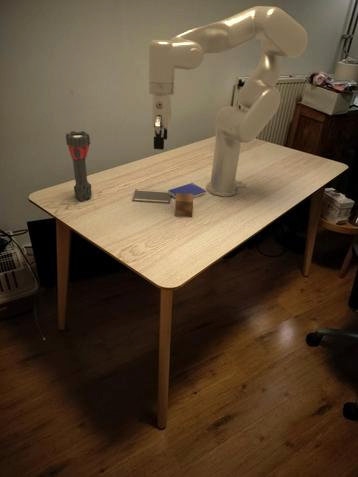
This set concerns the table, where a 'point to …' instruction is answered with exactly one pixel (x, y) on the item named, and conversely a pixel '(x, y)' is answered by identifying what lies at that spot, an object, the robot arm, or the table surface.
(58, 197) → the table surface
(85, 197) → the flashlight
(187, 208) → the cube
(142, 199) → the mat
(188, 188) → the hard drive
